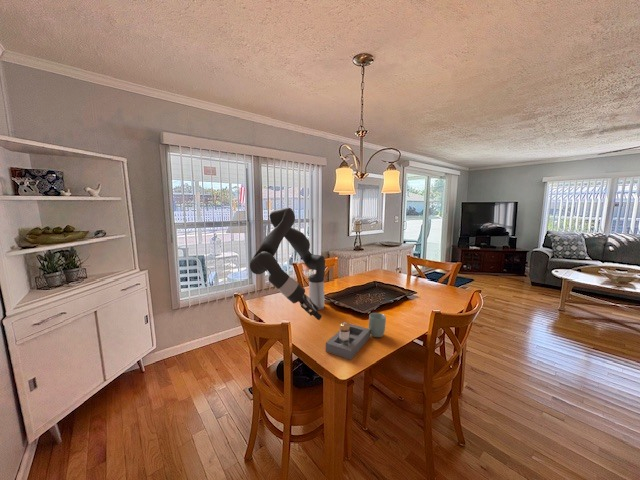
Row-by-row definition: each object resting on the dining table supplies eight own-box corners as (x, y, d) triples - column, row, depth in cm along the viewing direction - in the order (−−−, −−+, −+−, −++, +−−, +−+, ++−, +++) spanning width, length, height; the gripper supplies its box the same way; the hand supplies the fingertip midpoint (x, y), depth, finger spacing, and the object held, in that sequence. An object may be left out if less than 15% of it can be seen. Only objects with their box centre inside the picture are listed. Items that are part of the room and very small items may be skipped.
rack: (325, 351, 112) (325, 342, 111) (347, 330, 130) (348, 323, 130) (350, 360, 106) (350, 351, 105) (370, 337, 124) (370, 329, 124)
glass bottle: (342, 342, 117) (342, 319, 116) (350, 345, 114) (351, 322, 113) (337, 346, 113) (337, 323, 112) (346, 349, 111) (347, 326, 110)
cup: (366, 331, 129) (367, 312, 128) (381, 331, 130) (382, 312, 129) (370, 339, 121) (371, 319, 120) (386, 339, 122) (388, 319, 121)
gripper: (299, 288, 100) (328, 314, 103) (296, 278, 113) (321, 301, 117) (285, 302, 99) (315, 328, 103) (284, 290, 113) (310, 313, 117)
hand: (318, 313), depth 110 cm, fingers open, 8 cm apart
